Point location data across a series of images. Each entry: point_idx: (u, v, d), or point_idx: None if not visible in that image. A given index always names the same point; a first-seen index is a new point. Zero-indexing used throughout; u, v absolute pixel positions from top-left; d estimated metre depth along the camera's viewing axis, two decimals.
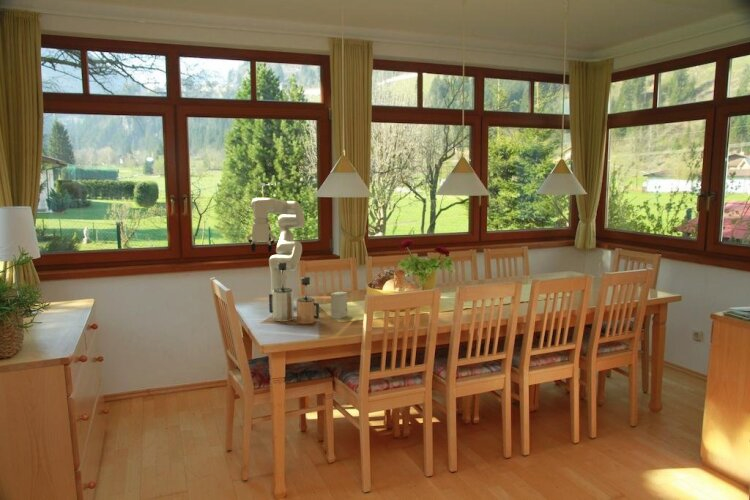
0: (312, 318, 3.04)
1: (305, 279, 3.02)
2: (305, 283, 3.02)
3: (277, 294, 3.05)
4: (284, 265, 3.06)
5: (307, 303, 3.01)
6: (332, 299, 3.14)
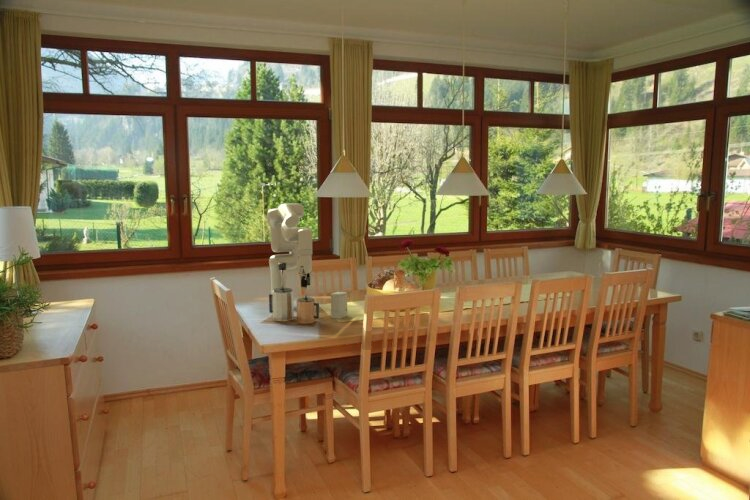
0: (312, 318, 3.04)
1: None
2: None
3: (277, 294, 3.05)
4: (284, 265, 3.06)
5: (307, 303, 3.01)
6: (332, 299, 3.14)
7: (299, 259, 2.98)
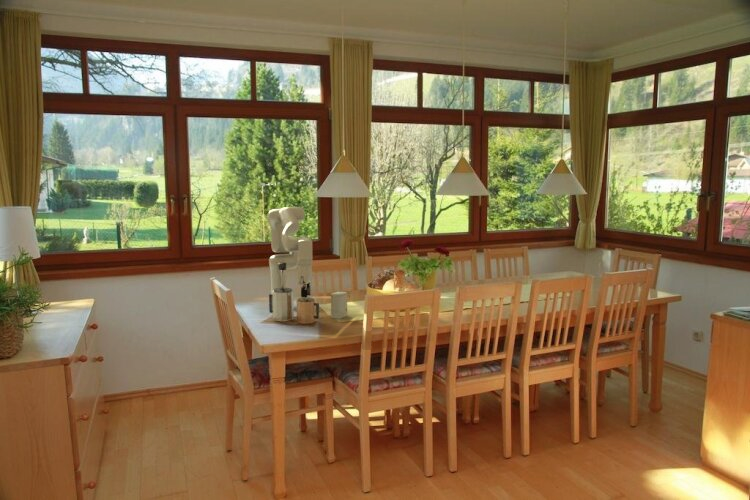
0: (312, 318, 3.04)
1: None
2: None
3: (277, 294, 3.05)
4: (284, 265, 3.06)
5: (307, 303, 3.01)
6: (332, 299, 3.14)
7: (299, 269, 2.99)
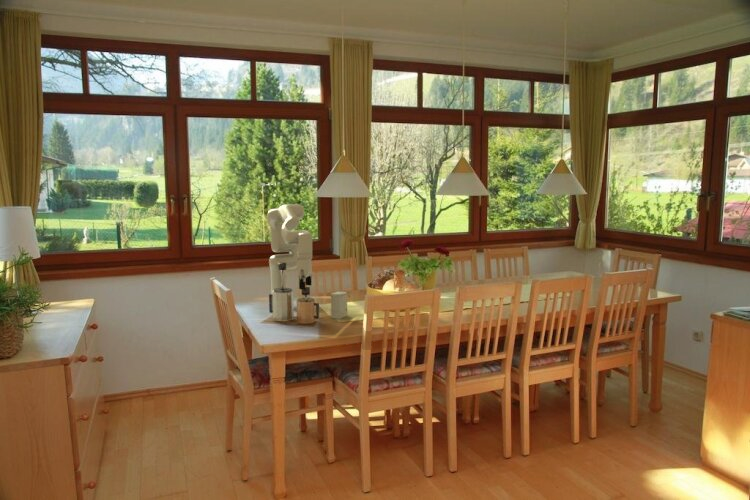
0: (312, 318, 3.04)
1: (305, 289, 3.02)
2: (305, 293, 3.03)
3: (277, 294, 3.05)
4: (284, 265, 3.06)
5: (307, 303, 3.01)
6: (332, 299, 3.14)
7: (299, 263, 2.98)
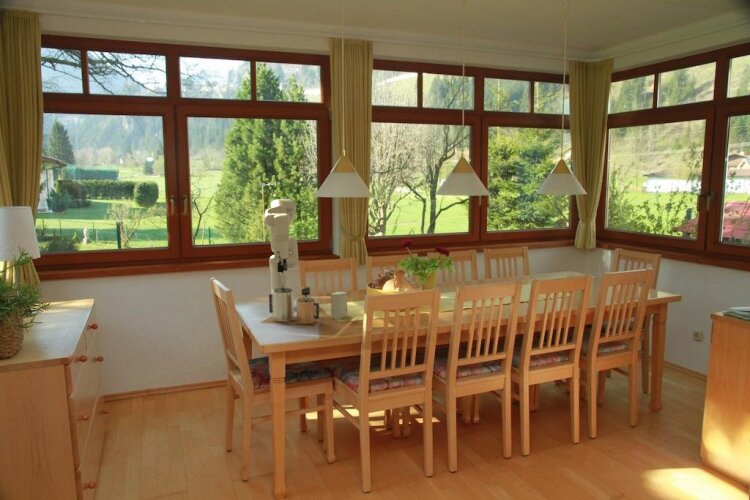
0: (312, 318, 3.04)
1: (305, 289, 3.02)
2: (305, 293, 3.03)
3: (277, 294, 3.05)
4: (284, 265, 3.06)
5: (307, 303, 3.01)
6: (332, 299, 3.14)
7: (275, 244, 3.02)
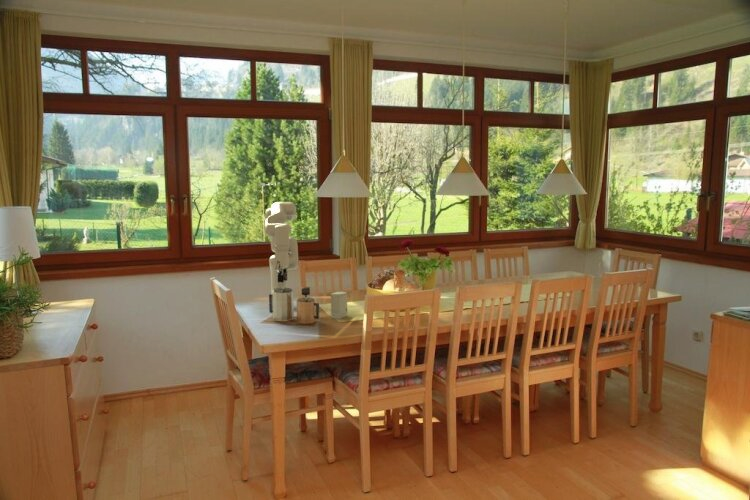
0: (312, 318, 3.04)
1: (305, 289, 3.02)
2: (305, 293, 3.03)
3: (277, 294, 3.05)
4: (284, 275, 3.07)
5: (307, 303, 3.01)
6: (332, 299, 3.14)
7: (275, 254, 3.03)
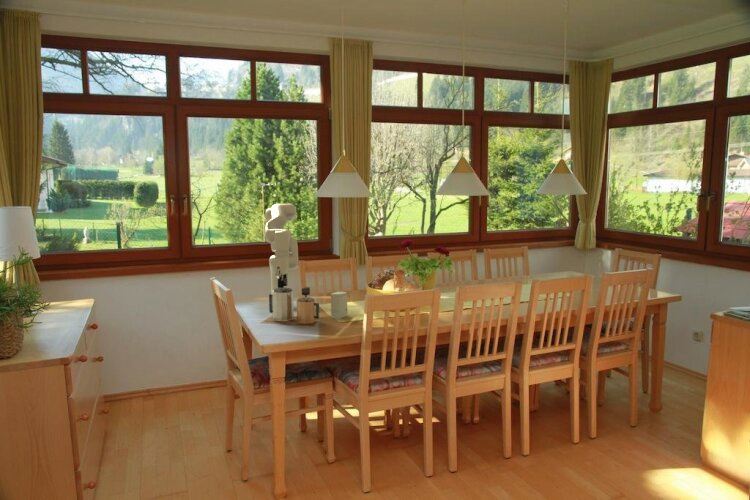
0: (312, 318, 3.04)
1: (305, 289, 3.02)
2: (305, 293, 3.03)
3: (277, 294, 3.05)
4: (284, 281, 3.07)
5: (307, 303, 3.01)
6: (332, 299, 3.14)
7: (276, 260, 3.03)
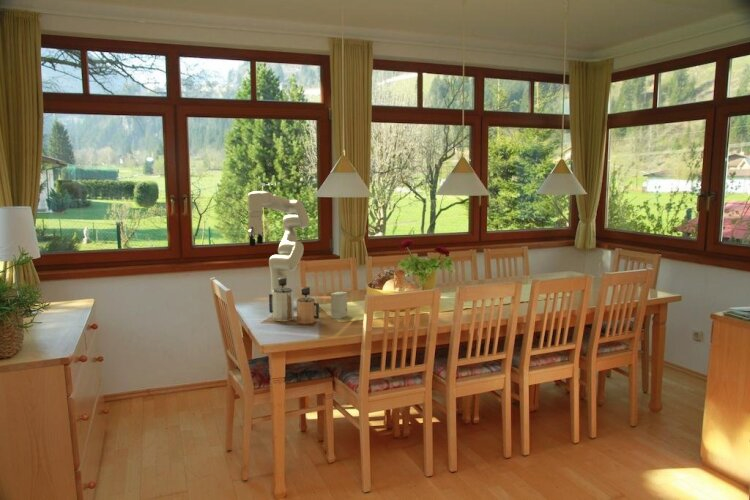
0: (312, 318, 3.04)
1: (305, 289, 3.02)
2: (305, 293, 3.03)
3: (277, 294, 3.05)
4: (284, 281, 3.07)
5: (307, 303, 3.01)
6: (332, 299, 3.14)
7: (249, 220, 3.16)
